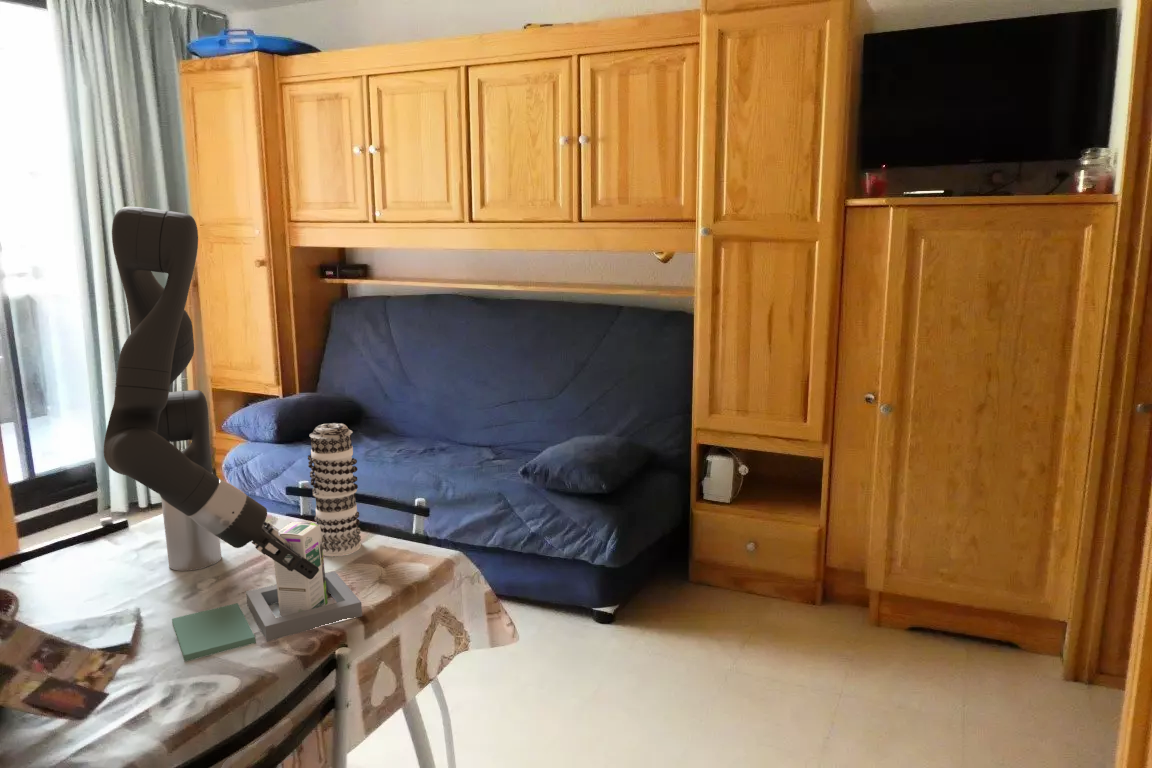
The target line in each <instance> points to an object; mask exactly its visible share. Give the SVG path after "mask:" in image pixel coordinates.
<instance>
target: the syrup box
mask: <svg viewBox="0 0 1152 768" xmlns="http://www.w3.org/2000/svg"><path fill="white" fill-rule="evenodd" d="M278 532H280V534H281V536H282V537H283V538H285V539H286V540H287V541H289V542H290V543H291V544H292V545H293V550H295V551H296V552H297V553H300V554H301V556H302V557H303V558H305V559H307V560H308V561H310V562H311V563H313V564H314V565H316V566H317V567H318V568H319V571H318V573H317V574H316V575H315V576H314V578H313V579H308V578H306V577H305V576H303V575H302V574H300V573H299V572H297V571H296V570H293V571H289V570H287V568H285V567H284V566H282V565H281V564H279V563H278V562H275V561H274V560H273V564H274V573H275V583H276V584H277V592H278V602H279V603H278V610H279V617H282V616H286V615H290V614H293V613H297V612H301V611H305V610H309V609H313V608H317V607H321V606H325V605H329V604H328V602H329V600H328V591H327V590H326V580H325V573H326V571H325V561H324V559H325V558H324V555H323V548H322V538H321V527H320V524H317V522H309V521H307V522H306V521H305V522H304V521H302V522H300V521H299V522H297V521H295V522H289V523H288V524H287V525H286V526H284V527H282V528H281V529H279V531H278ZM284 546H285V545H284ZM292 557H293V556H291V555H290V554H288V555H287V556H286V557H285V558H284V559H285V560H286V561H288V562H289V561H290V560H291V559H292Z"/></svg>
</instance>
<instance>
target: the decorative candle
mask: <svg viewBox="0 0 1152 768" xmlns="http://www.w3.org/2000/svg"><path fill="white" fill-rule="evenodd" d="M352 434H353V430H351V429H349V428H348V426H347V425H346V424H344V423H342V422H341V423H338V422H332V423H330V422H329V423H323V424H319V425H317V426H315V428H314V429H313V431H312V432H311V433H309V437H310V445H311V448H310V454H308V455H307V460H308V465H307V466H308V468H310V469H311V470H310V472H309V477H310V486H312V487H313V488H312V489H311V491H312V496H313V497H314V498H315V516H314V523H317V524H320V527H321V538H322V548H323V557H333V556H335V557H343V556H346V555H351V554H353V553H354V554H355V553H356V552H357V551H359V549H361V547H362V545H361V541H362V539H361V538H362V536H361V528H360V527H359V525H360V524H361V523H360V519H358V518H359V517H360V512H359V511H358V505H357V502H356V492H357V491H358V488H359V485H358V484H357V483H355V482H357V481H358V477H357V476H356V475H354V474H355V473H356V472H357V471H358V467H357V466H355V465H356V464H357V463H358V460H357V459H356V458H354V457H353V455H354V448H353V445H352Z"/></svg>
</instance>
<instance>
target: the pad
mask: <svg viewBox="0 0 1152 768" xmlns="http://www.w3.org/2000/svg"><path fill="white" fill-rule="evenodd" d="M171 622H172V627H173V631H174V633H175V637H176V639H177V641H178V642H177V643H178V646H179V648H180V651H181V652H180V653H181V655H182V659H183V660H184V662H188V661H192V660H196V659H200V658H204V657H207V656H211V655H215V654H219V653H223V652H226V651H230V650H234V649H238V648H241V647H245V646H249V645H252V644H256V636H255V634H254V632H253V630H252V628H251V626H250V624H249V622H248V620H247V618H246V616H245V615H244V613H243V610H242V609H241V607H240V605H239V603H238V602H237V603H232V604H228V605H223V606H220V607H215V608H211V609H206V610H202V611H197V612H194V613H190V614H186V615H182V616H178V617H173V618H172V619H171Z"/></svg>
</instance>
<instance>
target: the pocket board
mask: <svg viewBox="0 0 1152 768" xmlns="http://www.w3.org/2000/svg"><path fill="white" fill-rule="evenodd" d="M325 580H326V590H328V591H327V593H329V595H330V594H331V595H330V596H331V597H332V598H333V600H334V599H335V600H334V601H335V602H334V603H330V604H327V605H325V606H321V607H317V608H313V609H309V610H305V611H301V612H297V613H293V614H290V615H286V616H278V617H276V616H275V614H274V612H273V611H272V609H271V607H270V605H275V604H279V602H278V592H277V583H276V584H272V585H267V586H264V587H259V588H254V589H251V590H246V591H245V598H246V605H247V607H248V610H249V611H250V613H251V616H252V617H253V619H254V621H255V623H256V624H257V626H258V628H259V630H260V632H261V634H262V635H263V637H264V639H265V642H271V641H273V640H279V639H281V638H284V637H289V636H293V635H296V634H300V633H304V632H307V631H306V630H308V631H311V630H310V629H312V630H314V629H313V628H315V627H319V626H321V625H325V624H329V623H333V622H336V621H339V620H342V619H347V618H353V619H355V618H354V617H357V618H361V617H363V608H362V601H361V600H360V599H359V597H358V596H357V595H356V594H355V593H354V592H353V590H351V588H350V586H348V584H347V583H346V582H345V581H344V580H343V579H342V578H341V577H340V575H338V573H337V572H336V571H335V570H332V571H327V572H325ZM319 628H320V627H319Z"/></svg>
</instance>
